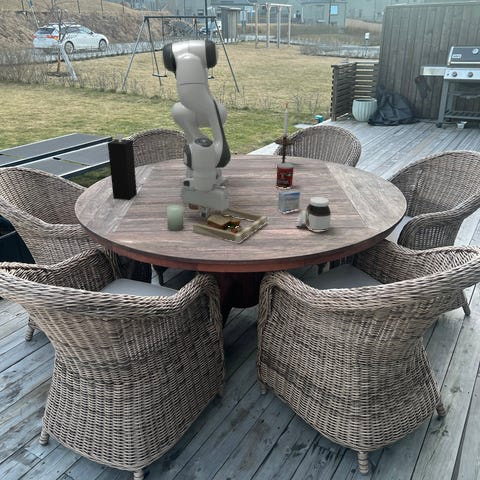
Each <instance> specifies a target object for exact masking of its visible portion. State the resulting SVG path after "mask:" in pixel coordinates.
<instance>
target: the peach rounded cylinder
mask: <svg viewBox="0 0 480 480" xmlns="http://www.w3.org/2000/svg"><path fill="white" fill-rule="evenodd" d="M188 209H190V210H191V211H192V210H193V211H199V209H198V205H194V204H189V203H188Z"/></svg>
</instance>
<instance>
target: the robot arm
mask: <svg viewBox="0 0 480 480" xmlns="http://www.w3.org/2000/svg"><path fill="white" fill-rule="evenodd" d="M219 56H220V55H219V49H218V47H217V44H216V42H214V41H213V40H211V39H204V40H203V39H202V40H201V39H197V40H196V39H191V40H189V39H188V40H184V41H178V42H174V43H173V42H169V43H166V44H164V46H163V47H162V51H161V62H162V65H164V68H165V70H166V71H168V72H171V73H173V74H175V77H176V78H175V81H176V82H175V83H176V90H177V91H176V92H177V93H176V94H177V97H178V100H179V101H177V102H175V103H174V105H173V106H172V108H171V119H172V121H173V122H174V123H175V124H176V125H177V126H178V127H179V128H180V129H181V130H182V131H183V134H184V135H185V137H186V142H187V145H186V146H185V147H184V148H183V150H182V153H183V156H182V157H183V165H185V166H186V168H185V169H186V171H185V178H184V179H182V180H181V185H182V186H181V187H180V200H181V202H182V203H185V204H188V205H189V204H194V205H198V209H199V210H198V211H199V213H200V214H199V215H200V217H203V218H207V219H208V218H209V217H210V212H211V211H212V209H213V210H216V211H221V212H222V211H225V210H226V209H228V208H230V202H229V201H230V200H229V190H228V189H227V188H226V187H225V186H223V184H224V183H225V182H226V181H227V177H225V176H223V172H222V169H223V168H225V167H226V166H227V165H228V164H229V163H230V161H231V156H232V155H231V154H232V153H231V150H230V147H229V144H228V141H227V138H226V134H225V130H224V125H225V123H226V122H227V120H228V110H227V108H226V107H225V105H224V104H223V103H221V102H220V101H218V99H217V98H215V96H214V95H213V93H212V91H211V89H210V84H209V78H208V70H210V69H212V68H214V67H216V66H217V64H218V62H219V61H218V60H219ZM200 127H201V128H210V129H211V133H212V137H213V140H212V139H211V138H210V136H208V135H207V134H205V133H203V132H202V131H201V129H200ZM223 182H224V183H223ZM204 208H205V209H204ZM205 210H206V211H205Z"/></svg>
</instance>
